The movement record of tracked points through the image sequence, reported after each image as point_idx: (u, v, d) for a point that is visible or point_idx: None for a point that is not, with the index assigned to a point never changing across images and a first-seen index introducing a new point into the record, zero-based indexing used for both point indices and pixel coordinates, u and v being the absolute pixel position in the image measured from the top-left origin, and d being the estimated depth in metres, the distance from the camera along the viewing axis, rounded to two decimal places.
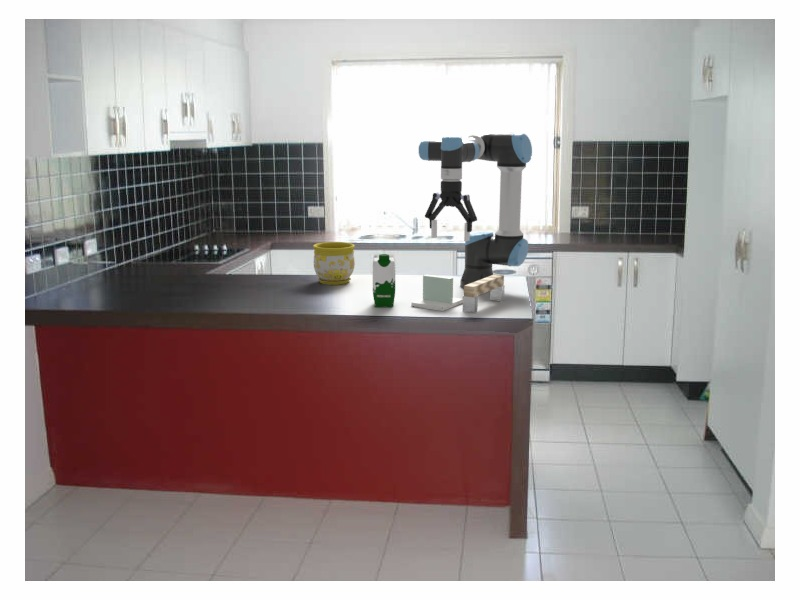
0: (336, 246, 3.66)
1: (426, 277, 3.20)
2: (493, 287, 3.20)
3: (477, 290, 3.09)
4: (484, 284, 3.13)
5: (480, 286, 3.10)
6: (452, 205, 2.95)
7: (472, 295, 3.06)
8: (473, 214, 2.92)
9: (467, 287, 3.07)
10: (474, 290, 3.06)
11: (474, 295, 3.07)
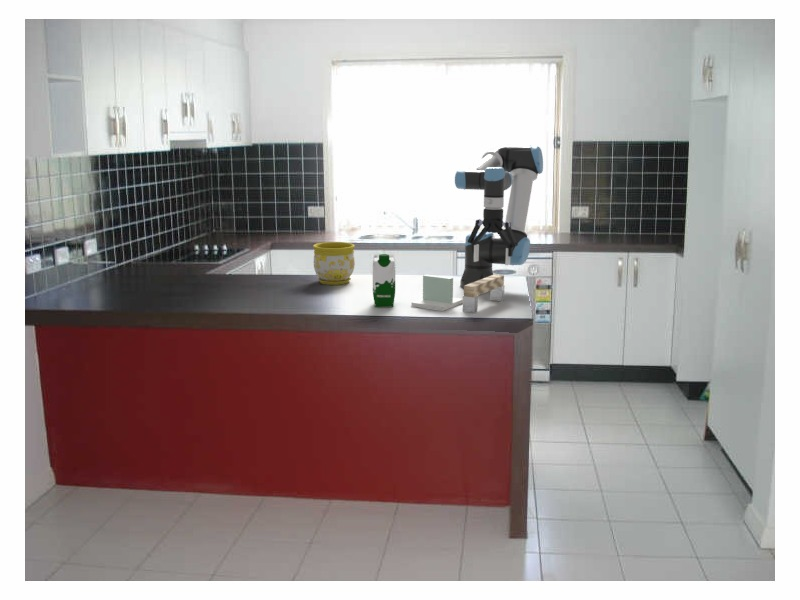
0: (336, 246, 3.66)
1: (426, 277, 3.20)
2: (493, 287, 3.20)
3: (477, 290, 3.09)
4: (484, 284, 3.13)
5: (480, 286, 3.10)
6: (494, 231, 3.16)
7: (472, 295, 3.06)
8: (514, 240, 3.13)
9: (467, 287, 3.07)
10: (474, 290, 3.06)
11: (474, 295, 3.07)
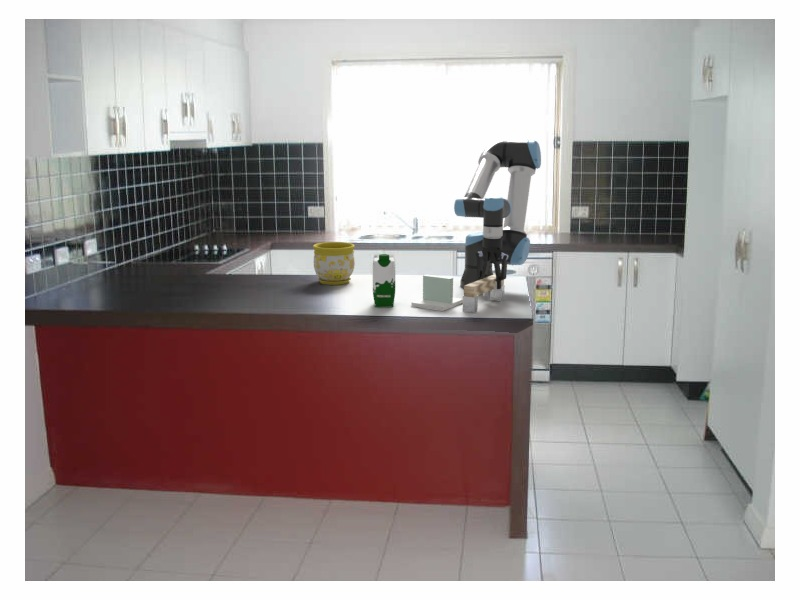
0: (336, 246, 3.66)
1: (426, 277, 3.20)
2: (493, 287, 3.20)
3: (477, 290, 3.09)
4: (484, 284, 3.13)
5: (480, 286, 3.10)
6: None
7: (472, 295, 3.06)
8: (504, 273, 3.18)
9: (467, 287, 3.07)
10: (474, 290, 3.06)
11: (474, 295, 3.07)
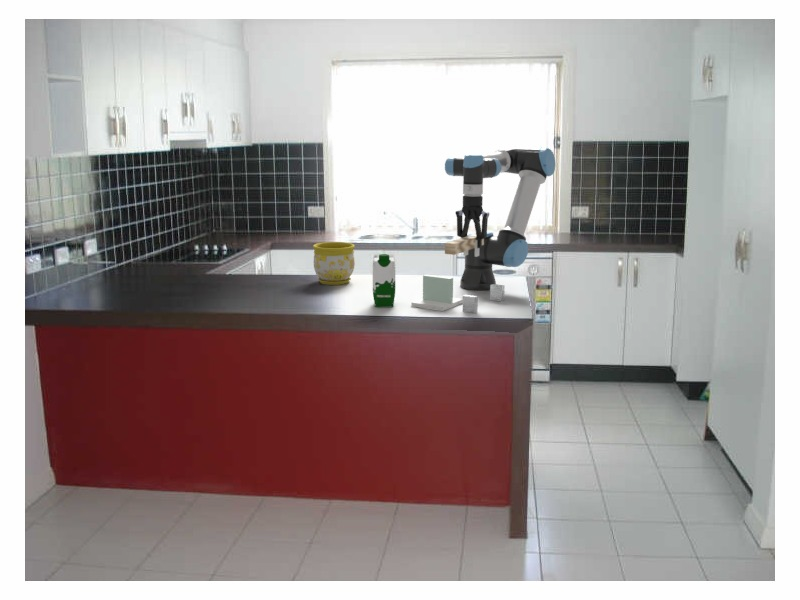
0: (336, 246, 3.66)
1: (426, 277, 3.20)
2: (474, 246, 3.17)
3: (459, 247, 3.05)
4: (465, 242, 3.10)
5: (461, 244, 3.07)
6: None
7: (453, 252, 3.03)
8: (485, 232, 3.15)
9: (448, 244, 3.03)
10: (456, 247, 3.03)
11: (455, 252, 3.03)
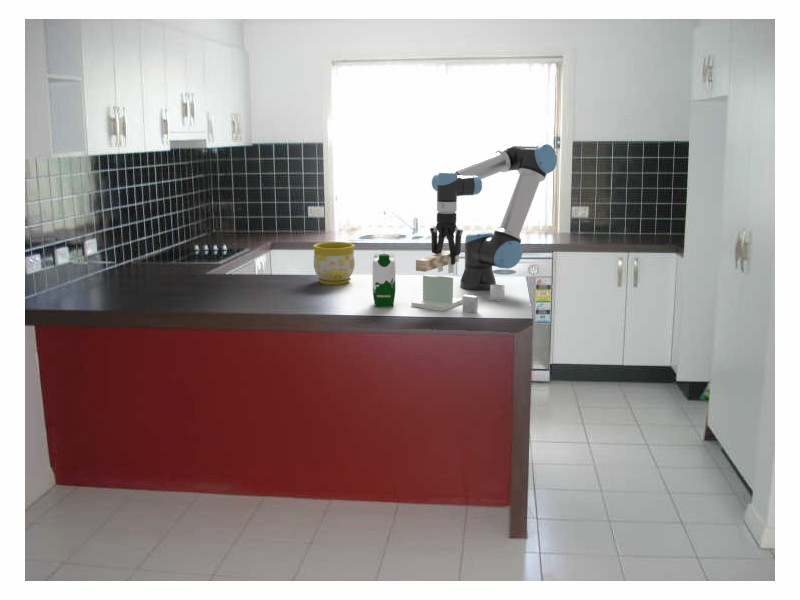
0: (336, 246, 3.66)
1: (426, 277, 3.20)
2: (447, 262, 3.19)
3: (430, 264, 3.08)
4: (437, 259, 3.12)
5: (432, 261, 3.10)
6: None
7: (424, 269, 3.06)
8: (458, 249, 3.18)
9: (419, 261, 3.06)
10: (426, 264, 3.06)
11: (426, 269, 3.06)
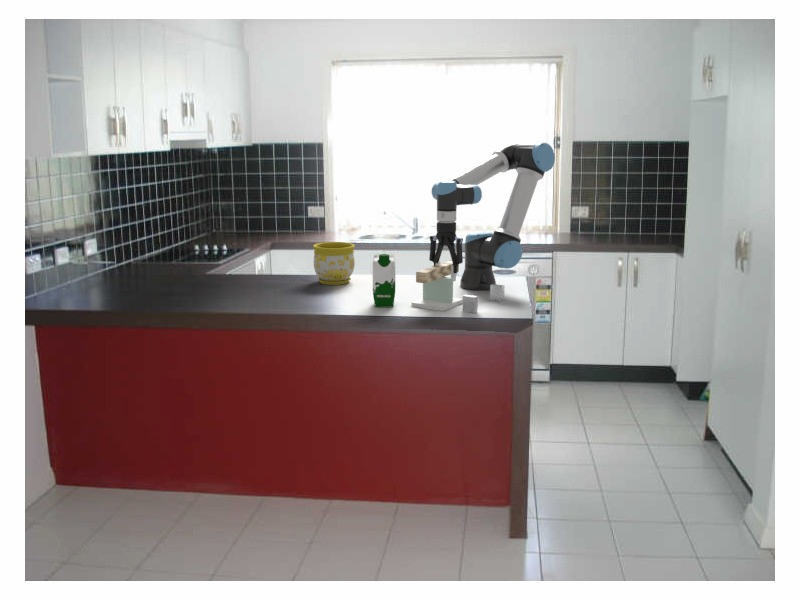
0: (336, 246, 3.66)
1: None
2: (447, 273, 3.20)
3: (430, 276, 3.09)
4: (437, 270, 3.13)
5: (433, 272, 3.11)
6: None
7: (424, 281, 3.07)
8: (460, 257, 3.18)
9: (419, 273, 3.07)
10: (426, 276, 3.07)
11: (426, 281, 3.07)
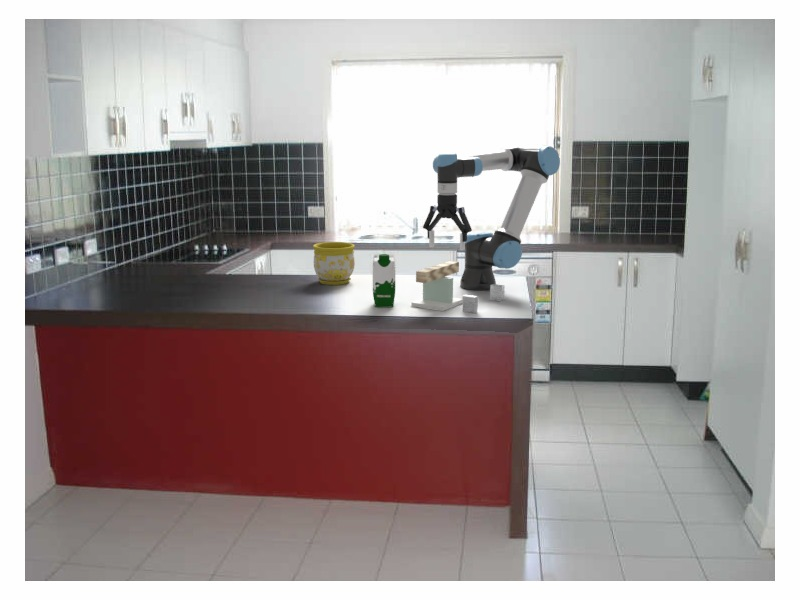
0: (336, 246, 3.66)
1: None
2: (447, 273, 3.20)
3: (430, 276, 3.09)
4: (437, 270, 3.13)
5: (433, 272, 3.11)
6: (448, 217, 3.17)
7: (424, 281, 3.07)
8: (468, 225, 3.15)
9: (419, 273, 3.07)
10: (426, 276, 3.07)
11: (426, 281, 3.07)
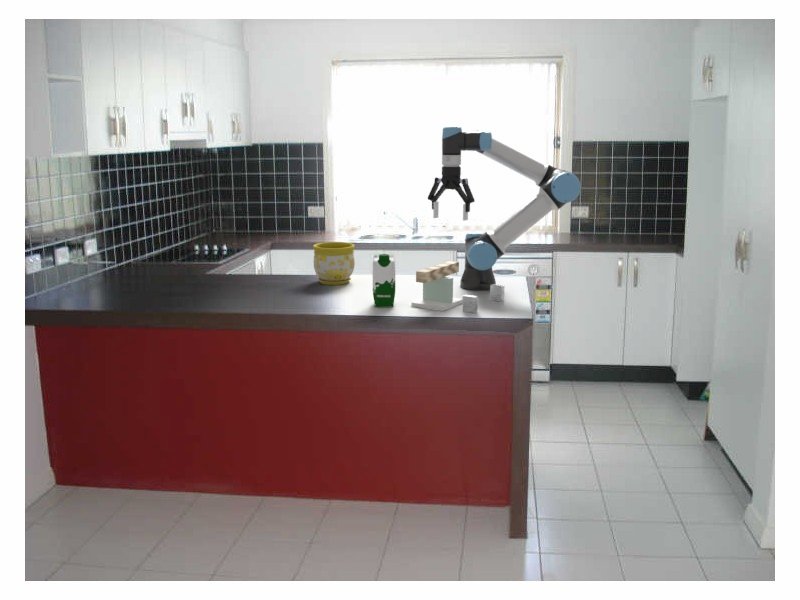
0: (336, 246, 3.66)
1: None
2: (447, 273, 3.20)
3: (430, 276, 3.09)
4: (437, 270, 3.13)
5: (433, 272, 3.11)
6: (452, 188, 3.29)
7: (424, 281, 3.07)
8: (471, 196, 3.26)
9: (419, 273, 3.07)
10: (426, 276, 3.07)
11: (426, 281, 3.07)
